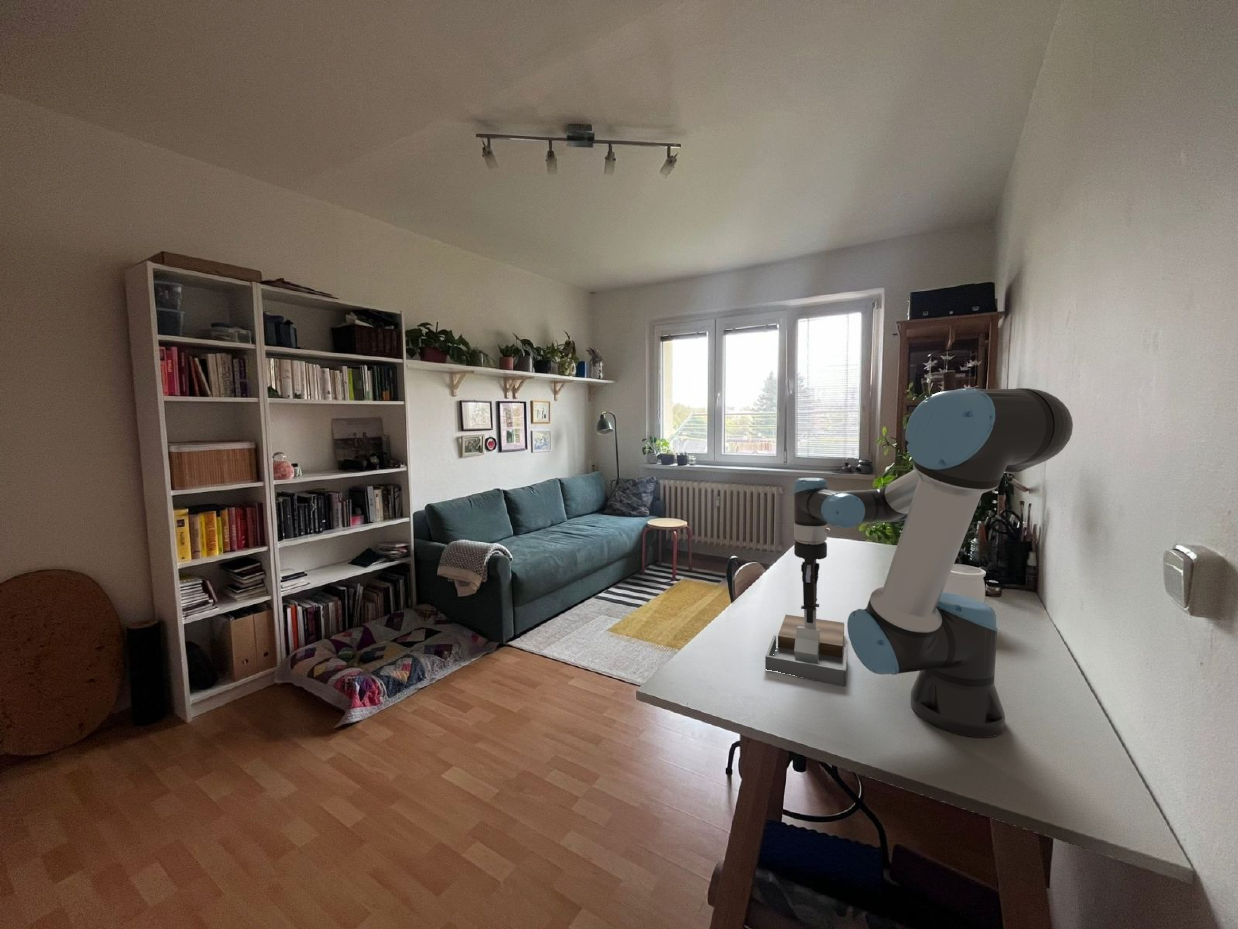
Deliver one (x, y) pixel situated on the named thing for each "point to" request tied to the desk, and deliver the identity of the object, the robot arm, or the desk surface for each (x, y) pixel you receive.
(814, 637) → the tile
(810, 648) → the light grey block
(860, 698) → the desk surface
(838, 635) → the board
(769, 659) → the tray
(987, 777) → the desk surface
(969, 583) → the jar
